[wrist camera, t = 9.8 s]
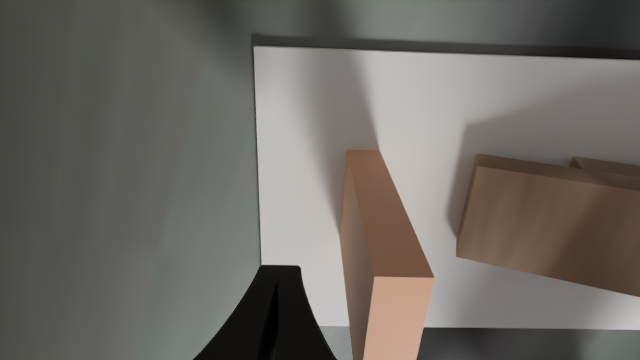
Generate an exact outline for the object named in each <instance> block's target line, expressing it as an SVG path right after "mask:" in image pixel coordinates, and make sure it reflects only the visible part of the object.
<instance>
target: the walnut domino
mask: <svg viewBox="0 0 640 360" xmlns="http://www.w3.org/2000/svg"><path fill="white" fill-rule="evenodd" d="M456 257H459V258H463V259H468V260H473V261H477V262H482V263H486V264H491V265H495V266H500V267H504V268H509V269H513V270H518V271H522V272H527V273H532V274H536V275H541V276H545V277H550V278H554V279H559V280H563V281H568V282H572V283H577V284H581V285H586V286H590V287H595V288H600V289H604V290H609V291H613V292H618V293H622V294H627V295H631V296H636V297H640V177H633V176H626V175H620V174H613V173H606V172H599V171H593V170H586V169H579V168H572V167H565V166H559V165H552V164H545V163H538V162H531V161H525V160H518V159H511V158H504V157H497V156H491V155H484V154H477V155H476V159H475V163H474V168H473V172H472V176H471V180H470V184H469V189H468V193H467V197H466V201H465V206H464V210H463V214H462V218H461V222H460V227H459V231H458V235H457V239H456Z"/></svg>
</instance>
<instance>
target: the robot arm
mask: <svg viewBox="0 0 640 360" xmlns="http://www.w3.org/2000/svg"><path fill="white" fill-rule="evenodd" d="M193 360H337V359H336V358H335V356H334V354H333V353H332V351H331V349H330V347H329V346H328V344H327V342H326V340H325V338H324V336H323V334H322V332H321V330H320V328H319V326H318V323H317V321H316V319H315V317H314V314H313V312H312V309H311V306H310V304H309V301H308V298H307V295H306V292H305V288H304V284H303V280H302V274H301V268H300V267H299V266H298V265H262V266H260V267H259V269H258V271H257V273H256V275H255V277H254V279H253V281H252V283H251V285H250V286H249V288H248V290H247V291H246V293H245V295H244V296H243V298H242V299H241V301H240V302H239V304H238V305H237V307H236V308H235V310H234V311H233V313H232V314H231V315H230V317H229V318H228V319H227V321H226V322H225V323H224V325H223V326H222V327H221V329H220V330H219V331H218V332H217V334H216V335H215V336H214V337H213V338H212V340H211V341H210V342H209V343H208V344H207V345H206V346H205V348H204V349H203V350H202V351H201V352H200V353H199V354H198V355H197V356H196V357H195V358H194V359H193Z"/></svg>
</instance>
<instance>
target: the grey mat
mask: <svg viewBox="0 0 640 360" xmlns="http://www.w3.org/2000/svg"><path fill="white" fill-rule="evenodd" d="M254 69H255V97H256V124H257V151H258V179H259V206H260V233H261V260H262V265H298V266H299V267H300V268H301V274H302V280H303V284H304V288H305V292H306V295H307V298H308V301H309V304H310V306H311V309H312V312H313V314H314V317H315V319H316V321H317V323H318V326H349V317H348V309H347V300H346V291H345V282H344V273H343V265H342V256H341V247H340V238H339V235H340V223H341V210H342V198H343V185H344V173H345V160H346V149H347V150H377V151H380V152H381V154H382V157H383V159H384V161H385V164H386V166H387V168H388V171H389V173H390V175H391V178H392V180H393V182H394V185H395V187H396V189H397V192H398V194H399V196H400V199H401V201H402V203H403V206H404V208H405V210H406V212H407V215H408V217H409V219H410V222H411V224H412V226H413V229H414V231H415V233H416V236H417V238H418V240H419V243H420V245H421V247H422V250H423V252H424V254H425V257H426V259H427V261H428V264H429V266H430V268H431V270H432V273H433V275H434V277H435V279H434V283H433V288H432V292H431V296H430V301H429V305H428V310H427V314H426V319H425V323H424V327H457V328H538V329H619V330H640V297H636V296H631V295H627V294H622V293H618V292H613V291H609V290H604V289H600V288H595V287H590V286H586V285H581V284H577V283H572V282H568V281H563V280H559V279H554V278H550V277H545V276H541V275H536V274H532V273H527V272H522V271H518V270H513V269H509V268H504V267H500V266H495V265H491V264H486V263H482V262H477V261H473V260H468V259H463V258H459V257H456V239H457V235H458V231H459V227H460V222H461V218H462V214H463V210H464V206H465V201H466V197H467V193H468V189H469V184H470V180H471V176H472V172H473V168H474V163H475V159H476V155H477V154H484V155H491V156H497V157H504V158H511V159H518V160H525V161H531V162H538V163H545V164H552V165H559V166H565V167H570V164H571V162H572V159H573V156H575V157H583V158H590V159H597V160H604V161H611V162H618V163H625V164H632V165H639V166H640V60H625V59H599V58H573V57H546V56H520V55H493V54H467V53H440V52H414V51H387V50H361V49H334V48H308V47H282V46H254Z"/></svg>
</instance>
